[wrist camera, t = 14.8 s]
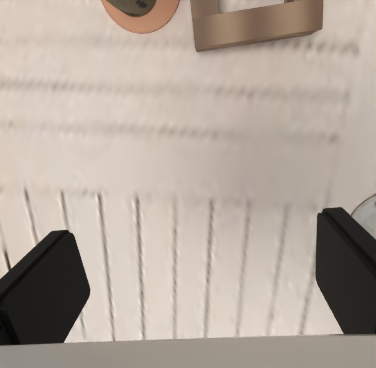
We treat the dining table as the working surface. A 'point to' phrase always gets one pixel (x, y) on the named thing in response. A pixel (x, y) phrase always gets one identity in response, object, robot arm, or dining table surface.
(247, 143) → the dining table surface
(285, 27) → the frame
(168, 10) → the peach smooth round part
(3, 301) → the robot arm
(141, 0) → the mug
